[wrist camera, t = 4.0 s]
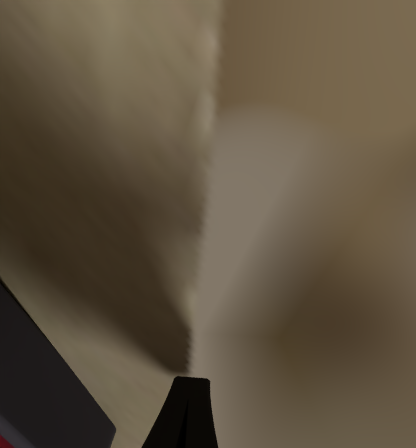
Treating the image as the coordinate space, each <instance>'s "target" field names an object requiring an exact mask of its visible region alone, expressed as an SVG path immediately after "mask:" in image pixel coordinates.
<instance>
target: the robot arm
mask: <svg viewBox="0 0 416 448" xmlns="http://www.w3.org/2000/svg"><path fill="white" fill-rule="evenodd" d="M142 448H218V444H217V439H216V434H215V428H214V422H213V415H212V408H211V399H210V381H209V380H208V379H205V378H194V377H181V376H177V377H175V378H174V381H173V383H172V386H171V389H170V391H169V393H168V396H167V398H166V400H165V403H164V405H163V407H162V409H161V411H160V413H159V415H158V417H157V419H156V421H155V423H154V425H153V427H152V429H151V431H150V433H149V435H148V437H147V439H146V440H145V442H144V444H143V446H142Z"/></svg>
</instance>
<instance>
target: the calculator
mask: <svg viewBox="0 0 416 448" xmlns="http://www.w3.org/2000/svg"><path fill="white" fill-rule="evenodd" d="M115 433H116V428H115V426H114V424H113V423H112V422H111V421H110V419H109V418H108V417H107V415H106V414H105V413H104V411H103V410H102V409H101V407H100V406H99V405H98V404H97V402H96V401H95V400H94V398H93V397H92V396H91V394H90V393H89V392H88V390H87V389H86V388H85V386H84V385H83V384H82V383H81V381H80V380H79V379H78V377H77V376H76V375H75V373H74V372H73V371H72V370H71V368H70V367H69V366H68V364H67V363H66V362H65V360H64V359H63V358H62V357H61V355H60V354H59V353H58V352H57V350H56V349H55V348H54V347H53V345H52V344H51V343H50V342H49V340H48V339H47V338H46V337H45V335H44V334H43V333H42V332H41V331H40V329H39V328H38V327H37V326H36V325H35V324H34V322H33V321H32V320H31V319H30V318H29V317H28V315H27V314H26V313H25V312H24V311H23V310H22V308H21V307H20V306H19V305H18V304H17V303H16V301H15V300H14V299H13V298H12V297H11V296H10V294H9V293H8V292H7V291H6V290H5V288H4V287H3V286H2V285H1V284H0V448H110V447H111V444H112V441H113V438H114V435H115Z"/></svg>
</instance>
